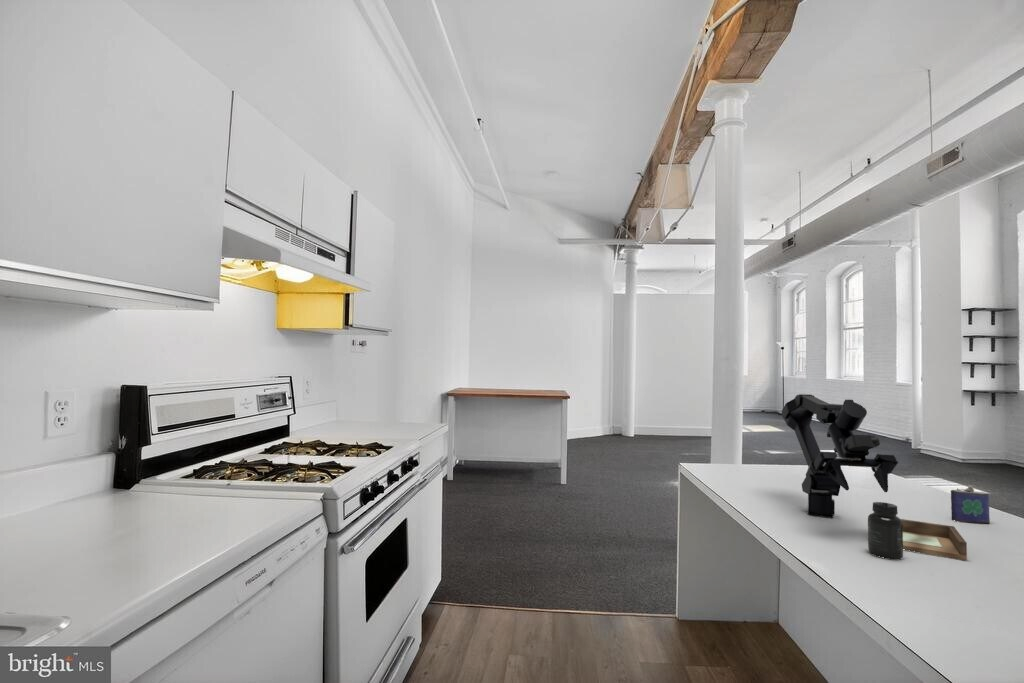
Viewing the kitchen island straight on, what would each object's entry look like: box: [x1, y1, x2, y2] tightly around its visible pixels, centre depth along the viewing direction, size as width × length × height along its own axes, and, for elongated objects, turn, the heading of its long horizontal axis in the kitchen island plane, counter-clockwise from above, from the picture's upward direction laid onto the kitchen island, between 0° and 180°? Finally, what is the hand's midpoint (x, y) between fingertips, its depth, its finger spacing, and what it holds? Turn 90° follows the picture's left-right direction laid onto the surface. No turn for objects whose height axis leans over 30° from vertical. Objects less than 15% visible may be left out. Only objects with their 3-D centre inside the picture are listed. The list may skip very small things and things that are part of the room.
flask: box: [950, 485, 991, 525], centre depth 153 cm, size 9×3×11 cm, turn 74°
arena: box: [900, 518, 968, 561], centre depth 132 cm, size 16×15×4 cm
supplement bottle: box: [867, 501, 904, 560], centre depth 124 cm, size 7×7×12 cm
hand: (867, 490), depth 132 cm, fingers open, 9 cm apart
